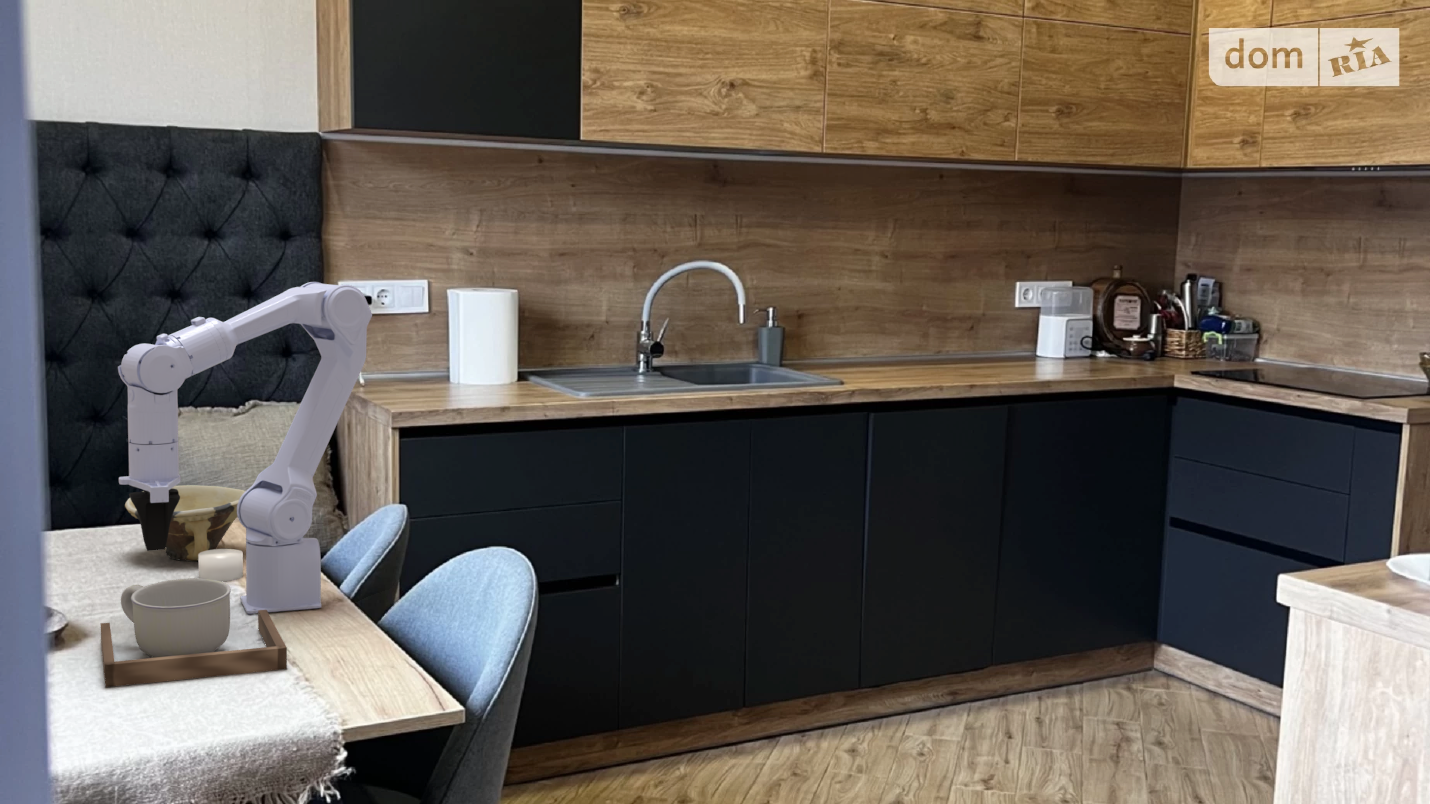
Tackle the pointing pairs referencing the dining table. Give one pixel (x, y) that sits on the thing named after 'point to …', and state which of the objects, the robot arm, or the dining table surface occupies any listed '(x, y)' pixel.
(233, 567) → the white frosted puck
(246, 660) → the corral
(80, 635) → the dining table surface
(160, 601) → the teacup
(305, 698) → the dining table surface
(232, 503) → the bowl
